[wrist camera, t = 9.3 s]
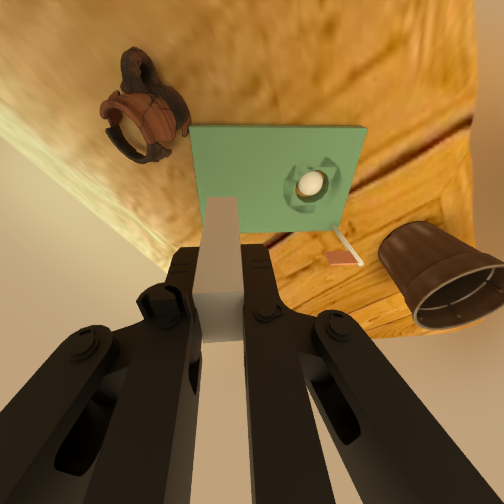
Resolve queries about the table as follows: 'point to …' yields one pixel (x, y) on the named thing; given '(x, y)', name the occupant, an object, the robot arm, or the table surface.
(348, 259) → the flag pin
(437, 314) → the plant pot
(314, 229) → the green
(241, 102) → the table surface
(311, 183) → the ball
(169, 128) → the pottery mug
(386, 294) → the table surface
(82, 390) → the robot arm
